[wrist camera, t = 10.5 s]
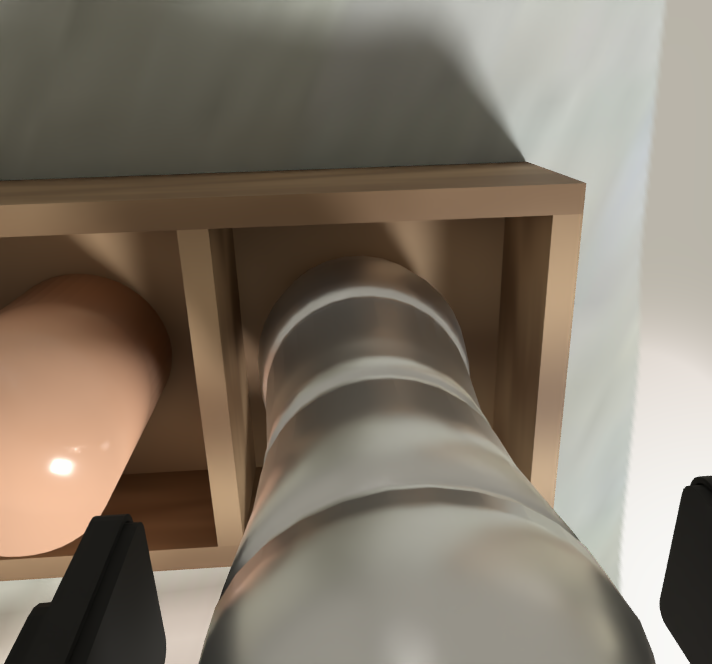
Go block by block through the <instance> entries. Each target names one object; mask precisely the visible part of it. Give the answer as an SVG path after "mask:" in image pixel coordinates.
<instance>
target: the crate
mask: <svg viewBox="0 0 712 664" xmlns="http://www.w3.org/2000/svg"><path fill="white" fill-rule="evenodd" d="M585 190H586V183H584V182H581V181H579V180H576V179H573V178H570V177H567V176H565V175H562V174H559V173H556V172H554V171H551V170H548V169H545V168H542V167H540V166H537V165H534V164H531V163H529V162H507V163H479V164H451V165H423V166H395V167H368V168H340V169H312V170H284V171H256V172H229V173H201V174H173V175H145V176H118V177H90V178H62V179H34V180H6V181H0V310H1V309H3V308H4V307H5V306H7V305H8V304H10V303H11V302H12V301H14V300H15V299H17V298H18V297H19V296H21V295H22V294H24V293H25V292H26V291H28V290H29V289H31V288H32V287H33V286H35V285H37V284H39V283H40V282H42V281H45V280H47V279H50V278H52V277H56V276H61V275H67V274H90V275H97V276H101V277H105V278H108V279H111V280H114V281H116V282H119V283H121V284H123V285H124V286H126V287H128V288H130V289H131V290H133V291H134V292H136V293H137V294H139V295H140V296H141V297H142V298H143V299H144V300H146V301H147V302H148V303H149V304H150V306H151V307H152V308H153V309H154V310H155V311H156V313H157V314H158V316H159V317H160V318H161V320H162V322H163V324H164V326H165V328H166V330H167V333H168V336H169V339H170V343H171V348H172V367H171V371H170V376H169V379H168V381H167V384H166V386H165V388H164V390H163V392H162V394H161V396H160V398H159V400H158V402H157V404H156V406H155V408H154V410H153V412H152V414H151V416H150V418H149V420H148V422H147V424H146V426H145V428H144V430H143V432H142V434H141V436H140V438H139V440H138V442H137V444H136V446H135V448H134V450H133V452H132V455H131V457H130V459H129V461H128V463H127V465H126V467H125V469H124V471H123V473H122V475H121V477H120V479H119V481H118V483H117V485H116V487H115V489H114V491H113V493H112V495H111V497H110V499H109V501H108V503H107V505H106V507H105V509H104V510H103V512H102V514H101V515H117V514H130V515H131V517H132V519H133V522H142V523H143V525H144V529H145V534H146V539H147V544H148V549H149V554H150V560H151V565H152V570H153V571H167V570H183V569H198V568H214V567H230V566H232V564H233V561H234V558H235V556H236V553H237V550H238V548H239V545H240V543H241V540H242V537H243V535H244V532H245V529H246V527H247V524H248V521H249V519H250V516H251V514H252V511H253V507H254V502H255V498H256V493H257V489H258V484H259V480H260V475H261V472H262V469H263V464H264V457H265V453H266V449H267V423H266V408H265V405H264V402H263V399H262V392H261V384H260V376H259V367H258V352H259V341H260V337H261V334H262V331H263V327H264V324H265V321H266V319H267V318H268V316H269V314H270V312H271V310H272V308H273V307H274V305H275V303H276V302H277V301H278V300H279V299H280V298H281V296H282V295H283V294H284V293H285V292H286V290H287V289H288V288H289V287H290V286H291V285H292V283H293V282H294V281H295V280H297V279H298V278H299V277H300V276H302V275H303V274H304V273H306V272H307V271H308V270H310V269H312V268H314V267H316V266H318V265H320V264H322V263H324V262H326V261H330V260H334V259H338V258H341V257H349V256H369V257H376V258H382V259H385V260H388V261H391V262H393V263H396V264H399V265H401V266H403V267H404V268H406V269H408V270H409V271H411V272H413V273H414V274H416V275H418V276H419V277H421V278H423V279H424V280H426V281H427V282H428V283H429V284H430V285H432V286H433V287H434V288H435V289H436V290H437V291H438V292H439V293H440V294H441V295H442V296H443V298H444V299H445V300H446V302H447V303H448V305H449V306H450V307H451V309H452V310H453V312H454V314H455V317H456V319H457V321H458V324H459V326H460V328H461V332H462V336H463V340H464V344H465V348H466V352H467V357H468V362H469V372H470V379H471V382H472V385H473V388H474V391H475V394H476V397H477V400H478V403H479V406H480V409H481V411H482V413H483V414H484V416H485V418H486V419H487V421H488V422H489V424H490V426H491V428H492V430H493V431H494V432H495V434H496V435H497V436H498V438H499V439H500V441H501V443H502V444H503V446H504V447H505V449H506V451H507V452H508V454H509V455H510V457H511V458H512V460H513V462H514V463H515V465H516V466H517V467H518V469H519V470H520V471H521V472H522V473H523V474H524V476H525V477H526V478H527V479H528V480H529V481H530V483H531V484H532V485H533V486H534V487H535V488H536V490H537V491H538V492H539V493H540V494H541V495H542V497H543V498H544V499H545V500H546V501H547V502H548V504H549V505H550V506H551V507H552V508H553V506H554V497H555V487H556V477H557V467H558V457H559V447H560V437H561V427H562V417H563V407H564V398H565V388H566V378H567V368H568V358H569V348H570V338H571V328H572V318H573V308H574V299H575V289H576V279H577V269H578V259H579V249H580V239H581V229H582V219H583V209H584V200H585ZM101 515H100V516H101ZM83 535H84V534H83ZM83 535H81V536H80V537H78V538H77V539H75V540H74V541H72V542H70V543H68V544H66V545H64V546H62V547H60V548H57V549H54V550H52V551H49V552H45V553H41V554H36V555H29V556H21V557H3V556H0V581H10V580H26V579H41V578H57V577H64V575H65V572H66V570H67V568H68V566H69V564H70V562H71V560H72V558H73V556H74V554H75V552H76V549H77V547H78V545H79V543H80V541H81V539H82V537H83Z"/></svg>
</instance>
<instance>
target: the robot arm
mask: <svg viewBox="0 0 712 664" xmlns="http://www.w3.org/2000/svg"><path fill="white" fill-rule="evenodd" d="M660 611H661V615H662V618H663V621H664V623H665V624H666V626H667V628H668V629H669V631H670V632H671V634H672V635H673V637H674V639H675V640H676V642H677V643H678V645H679V646H680V648H681V650H682V651H683V653H684V654H685V656H686V657H687V659H688V661H689V662H690V664H712V476H702V477H696V478H694V480H693V481H692V482H691V485H690V486H686V487H685V488H684V489H683V492H682V497H681V501H680V506H679V511H678V515H677V520H676V525H675V530H674V535H673V539H672V544H671V549H670V554H669V559H668V564H667V569H666V573H665V578H664V582H663V588H662V592H661V597H660ZM165 657H166V638H165V632H164V627H163V622H162V617H161V611H160V606H159V601H158V596H157V591H156V586H155V580H154V575H153V570H152V565H151V560H150V554H149V549H148V544H147V539H146V534H145V529H144V525H143V523H142V522H133V519H132V517H131V515H130V514H117V515H101V516H94V517H93V518H92V519H91V521H90V522H89V524H88V526H87V529H86V531H85V533H84V535H83V537H82V539H81V541H80V543H79V545H78V547H77V549H76V552H75V554H74V556H73V558H72V560H71V562H70V564H69V566H68V568H67V570H66V572H65V575H64V577H63V579H62V581H61V583H60V585H59V587H58V589H57V591H56V593H55V595H54V597H53V600H52V602H48V603H39V604H38V605H37V606H35V607H34V608H33V610H32V611H31V613H30V614H29V616H28V618H27V620H26V622H25V624H24V626H23V628H22V630H21V632H20V634H19V636H18V637H17V639H16V641H15V643H14V645H13V647H12V649H11V651H10V653H9V655H8V657H7V659H6V661H5V663H4V664H164V663H165Z"/></svg>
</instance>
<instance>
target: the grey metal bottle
mask: <svg viewBox="0 0 712 664" xmlns="http://www.w3.org/2000/svg"><path fill="white" fill-rule="evenodd" d="M258 367H259V376H260V384H261V392H262V399H263V402H264V405H265V408H266V423H267V449H266V453H265V457H264V464H263V469H262V472H261V475H260V480H259V484H258V489H257V493H256V498H255V502H254V507H253V511H252V514H251V516H250V519H249V521H248V524H247V527H246V529H245V532H244V535H243V537H242V540H241V543H240V545H239V548H238V550H237V553H236V556H235V558H234V561H233V564H232V566H231V569H230V572H229V574H228V577H227V579H226V582H225V585H224V587H223V590H222V593H221V596H220V599H219V602H218V604H217V605H216V607H215V610H214V613H213V616H212V620H211V623H210V626H209V629H208V632H207V635H206V638H205V641H204V645H203V649H202V653H201V657H200V661H199V664H655V660H654V655H653V652H652V650H651V647H650V645H649V642H648V640H647V638H646V635H645V632H644V630H643V627H642V625H641V622H640V620H639V619H638V618H637V616H636V615H635V614H634V612H633V611H632V610H631V608H630V607H629V605H628V604H627V603H626V601H625V600H624V599H623V597H622V596H621V594H620V593H619V591H618V590H617V588H616V587H615V585H614V584H613V583H612V581H611V580H610V578H609V577H608V575H607V574H606V573H605V571H604V570H603V569H602V567H601V566H600V565H599V563H598V562H597V561H596V559H595V558H594V557H593V555H592V554H591V553H590V551H589V550H588V549H587V547H586V546H584V545H583V544H582V543H581V542H580V541H579V539H578V538H577V537H576V535H575V534H574V533H573V532H572V530H571V529H570V528H569V527H568V526H567V525H566V523H565V522H564V521H563V520H562V519H561V518H560V516H559V515H558V514H557V513H556V512H555V511H554V509H553V508H552V507H551V506H550V505H549V504H548V502H547V501H546V500H545V499H544V498H543V497H542V495H541V494H540V493H539V492H538V491H537V490H536V488H535V487H534V486H533V485H532V484H531V483H530V481H529V480H528V479H527V478H526V477H525V476H524V474H523V473H522V472H521V471H520V470H519V469H518V467H517V466H516V465H515V463H514V462H513V460H512V458H511V457H510V455H509V454H508V452H507V451H506V449H505V447H504V446H503V444H502V443H501V441H500V439H499V438H498V436H497V435H496V434H495V432H494V431H493V430H492V428H491V426H490V424H489V422H488V421H487V419H486V418H485V416H484V414H483V413H482V411H481V409H480V406H479V403H478V400H477V397H476V394H475V391H474V388H473V385H472V382H471V379H470V372H469V362H468V357H467V352H466V348H465V344H464V340H463V336H462V332H461V328H460V326H459V324H458V321H457V319H456V317H455V314H454V312H453V310H452V309H451V307H450V306H449V305H448V303H447V302H446V300H445V299H444V298H443V296H442V295H441V294H440V293H439V292H438V291H437V290H436V289H435V288H434V287H433V286H432V285H430V284H429V283H428V282H427V281H426V280H424V279H423V278H421V277H419V276H418V275H416V274H414V273H413V272H411V271H409V270H408V269H406V268H404V267H403V266H401V265H399V264H396V263H393V262H391V261H388V260H385V259H382V258H376V257H369V256H349V257H341V258H338V259H334V260H330V261H326V262H324V263H322V264H320V265H318V266H316V267H314V268H312V269H310V270H308V271H307V272H306V273H304V274H303V275H302V276H300V277H299V278H298V279H297V280H295V281H294V282H293V283H292V285H291V286H290V287H289V288H288V289H287V290H286V292H285V293H284V294H283V295H282V296H281V298H280V299H279V300H278V301H277V302H276V303H275V305H274V307H273V308H272V310H271V312H270V314H269V316H268V318H267V319H266V321H265V324H264V327H263V331H262V334H261V337H260V341H259V352H258Z"/></svg>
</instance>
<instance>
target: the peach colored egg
mask: <svg viewBox="0 0 712 664" xmlns="http://www.w3.org/2000/svg"><path fill="white" fill-rule="evenodd" d="M171 367H172V348H171V343H170V339H169V336H168V333H167V330H166V328H165V326H164V324H163V322H162V320H161V318H160V317H159V316H158V314H157V313H156V311H155V310H154V309H153V308H152V307H151V306H150V304H149V303H148V302H147V301H146V300H144V299H143V298H142V297H141V296H140V295H139V294H137V293H136V292H134V291H133V290H131V289H130V288H128V287H126V286H124V285H123V284H121V283H119V282H116V281H114V280H111V279H108V278H105V277H101V276H97V275H90V274H67V275H61V276H56V277H52V278H50V279H47V280H45V281H42V282H40V283H39V284H37V285H35V286H33V287H32V288H31V289H29V290H28V291H26V292H25V293H24V294H22V295H21V296H19V297H18V298H17V299H15V300H14V301H12V302H11V303H10V304H8V305H7V306H5V307H4V308H3V309H1V310H0V556H3V557H21V556H29V555H36V554H41V553H45V552H49V551H52V550H54V549H57V548H60V547H62V546H64V545H66V544H68V543H70V542H72V541H74V540H75V539H77V538H78V537H80V536H81V535H83V534H84V533H85V531H86V529H87V526H88V524H89V522H90V521H91V519H92V518H93V517H94V516H100V515H101V514H102V512H103V510H104V509H105V507H106V505H107V503H108V501H109V499H110V497H111V495H112V493H113V491H114V489H115V487H116V485H117V483H118V481H119V479H120V477H121V475H122V473H123V471H124V469H125V467H126V465H127V463H128V461H129V459H130V457H131V455H132V452H133V450H134V448H135V446H136V444H137V442H138V440H139V438H140V436H141V434H142V432H143V430H144V428H145V426H146V424H147V422H148V420H149V418H150V416H151V414H152V412H153V410H154V408H155V406H156V404H157V402H158V400H159V398H160V396H161V394H162V392H163V390H164V388H165V386H166V384H167V381H168V379H169V376H170V371H171Z"/></svg>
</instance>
